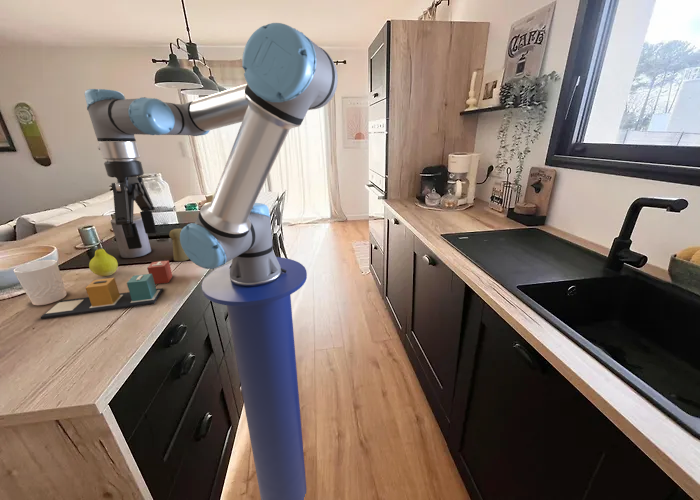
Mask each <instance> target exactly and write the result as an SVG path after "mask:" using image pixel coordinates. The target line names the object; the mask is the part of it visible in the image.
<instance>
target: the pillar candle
mask: <svg viewBox="0 0 700 500" xmlns="http://www.w3.org/2000/svg"><path fill="white" fill-rule="evenodd" d="M133 223H136V227H137V231H138V234H139V238H140V241H141V245H142V248H136V249H129V248H128V245H127V242H126V238H125V235H124V231H123V228H122V225H116V220H115V218H111V220H110V225H111V228H112V232H113V234H114V238H115V241H116V244H117V248H118V251H119V255H120V257H121V258H123V259H133V258H139V257H143V256H146V255H147V254H150V253H151V252H152V248H151V243H150V240H149V235H148V233H147V234H146V233H145V229H144V225H143V221H142V218H141V215H133Z"/></svg>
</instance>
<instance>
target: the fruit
mask: <svg viewBox="0 0 700 500" xmlns="http://www.w3.org/2000/svg"><path fill="white" fill-rule="evenodd" d="M103 240H104V238H101V240H100V241H99V242H98V248H97V249H96V250H95V251H94V256H93V257H92V258H91V259H90V260H89V264H88V268H89V270H90V272H92V273H93V274H94V275H97V276H100V277H109V276H112V275H113V274H115V273H116V271H117V270H118V266H119V263H118V260H117V258H115V257H114V256H113V255H112V254H109V253H108V252H106V250H105V249H104V248H100V245H101V243H102V242H103Z"/></svg>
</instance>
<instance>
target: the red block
mask: <svg viewBox="0 0 700 500" xmlns="http://www.w3.org/2000/svg"><path fill="white" fill-rule="evenodd" d="M170 264H171V263H170V260H169V259H168V260H160V261H159V260H158V261H152V262H151V263H149V265H148V266H147V272H148V274H152V275H153V279H154V282H155V285H160V284H167V283H170V282H171V281H170V280H171V279H172V278H173V272H172V269H171V265H170Z"/></svg>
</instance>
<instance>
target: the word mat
mask: <svg viewBox="0 0 700 500" xmlns="http://www.w3.org/2000/svg"><path fill="white" fill-rule="evenodd" d="M156 290H157V292H156V293H155V295H154V296H153V298H152V299H146V300H139V301H132V299H131V295H130V292H129V291H128V292H119V293H120V296H119V298H118V299H117V300H116V301H115V302H114V303H113V304H109V305H101V306H93V307H92V304H91V302H90V299H89V296H87V297H86V296H85V297H79V298H70V299H61V300H59V301H57V303H56V304H54V306H52V307H51V308H50V309H48V310H47V311H46V312H45V313H44V314H42V315H41V316H40V320H45V319H51V318H59V317H68V316H74V315H82V314H89V313H97V312H106V311H111V310H121V309H128V308H135V307H141V306H142V307H143V306H149V305H155V304H156V302H157V300H158V299H159V297H160V296H161V294H162V292H163V290H164V288H163V287H162V288H156Z"/></svg>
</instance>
